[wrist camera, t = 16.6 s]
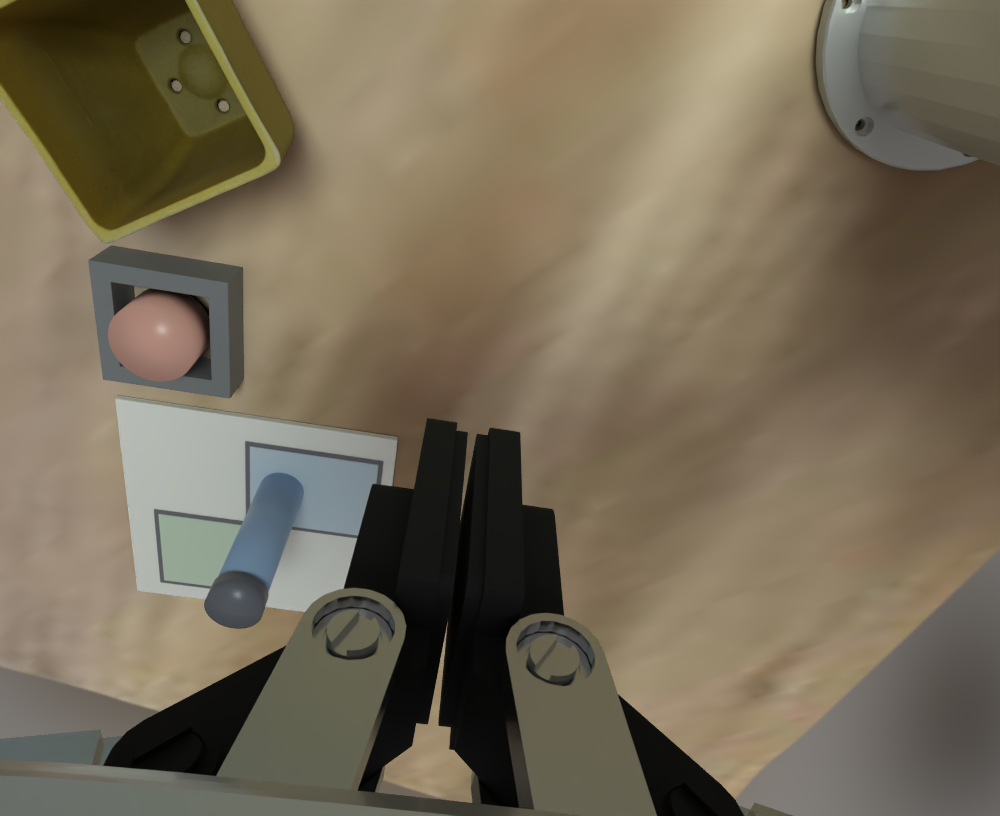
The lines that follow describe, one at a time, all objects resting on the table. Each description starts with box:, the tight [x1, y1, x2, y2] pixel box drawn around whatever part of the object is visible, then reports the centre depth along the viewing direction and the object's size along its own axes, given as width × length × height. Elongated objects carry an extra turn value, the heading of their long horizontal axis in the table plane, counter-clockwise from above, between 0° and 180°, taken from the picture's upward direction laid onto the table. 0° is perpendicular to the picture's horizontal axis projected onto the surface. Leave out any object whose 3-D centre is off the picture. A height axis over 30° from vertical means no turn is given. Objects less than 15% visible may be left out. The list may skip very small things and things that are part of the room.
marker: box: [204, 473, 304, 629], centre depth 42 cm, size 3×3×10 cm
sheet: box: [115, 395, 398, 612], centre depth 48 cm, size 17×16×1 cm
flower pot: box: [0, 0, 294, 243], centre depth 30 cm, size 9×9×9 cm
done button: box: [108, 288, 210, 382], centre depth 38 cm, size 4×4×3 cm
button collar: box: [88, 246, 244, 398], centre depth 39 cm, size 7×7×2 cm
